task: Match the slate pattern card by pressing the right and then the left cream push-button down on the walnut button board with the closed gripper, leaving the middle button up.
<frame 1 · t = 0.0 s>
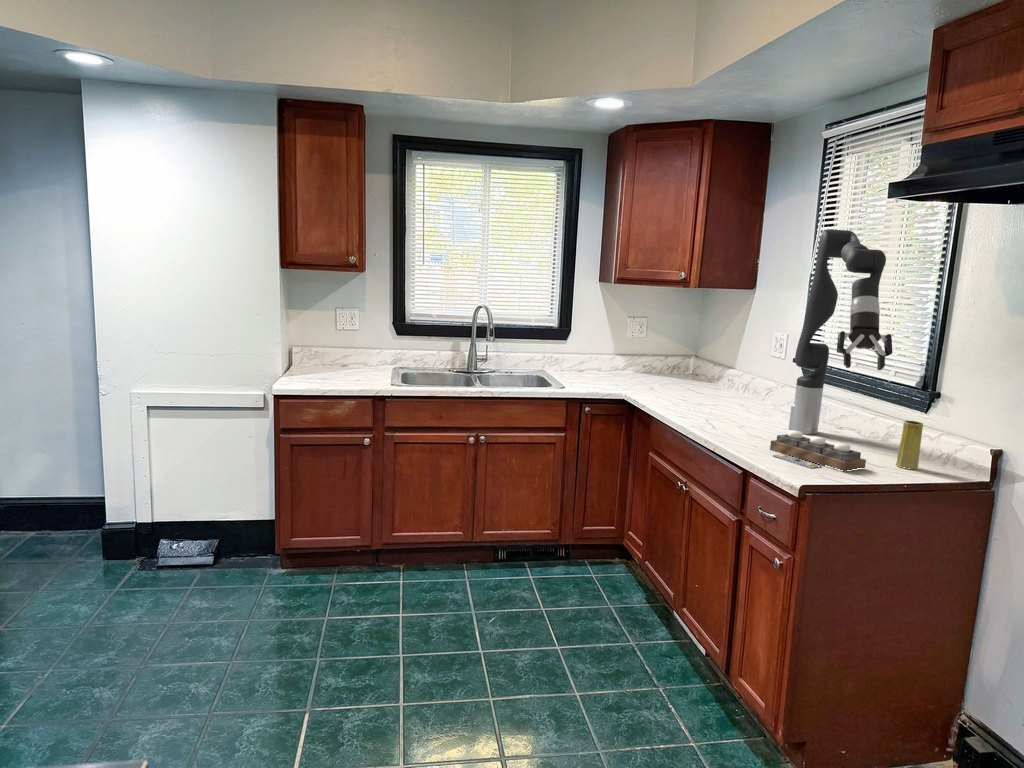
hand: (863, 368, 197), 31 cm above the worktop, tool tilted 20°, fingers open, 8 cm apart
button middle: (817, 441, 217), point 6 cm above the worktop, slide at 0.0 cm
vase: (906, 467, 214), on the worktop
button board: (815, 458, 218), on the worktop
button left: (794, 434, 225), point 6 cm above the worktop, slide at 0.0 cm
button right: (842, 447, 210), point 6 cm above the worktop, slide at 0.0 cm
pattern card: (796, 461, 214), on the worktop
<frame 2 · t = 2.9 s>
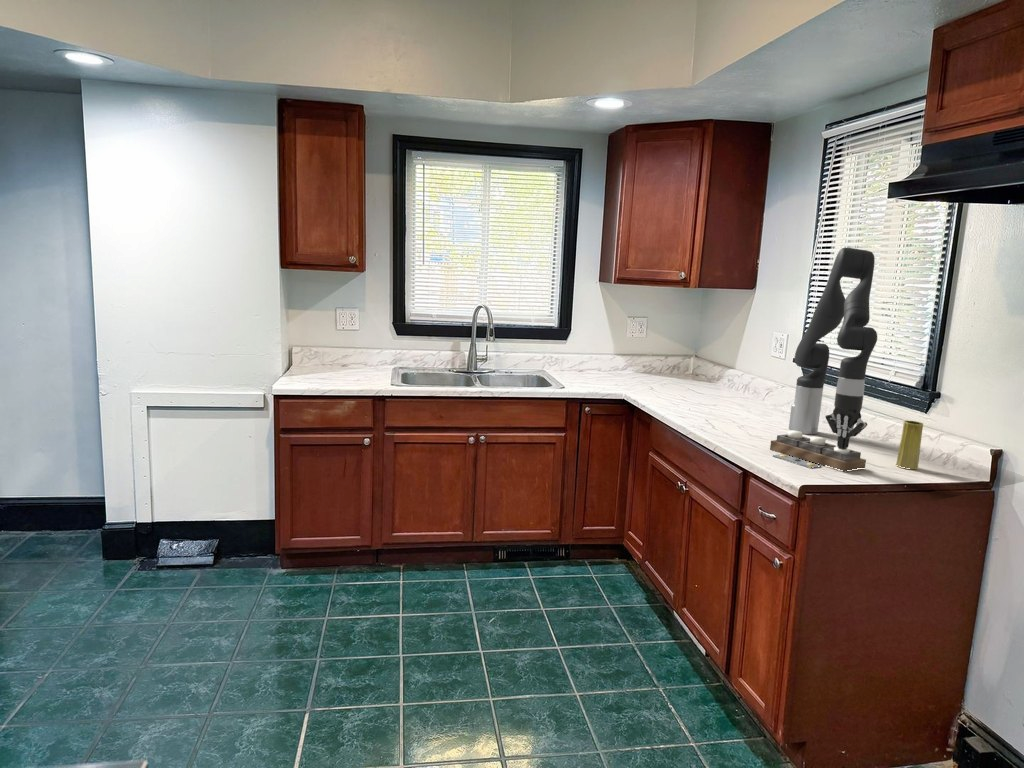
hand: (842, 448, 210), 6 cm above the worktop, tool pointing down, fingers closed
button right: (841, 451, 210), point 5 cm above the worktop, slide at 1.3 cm, touching gripper
everything else where it was.
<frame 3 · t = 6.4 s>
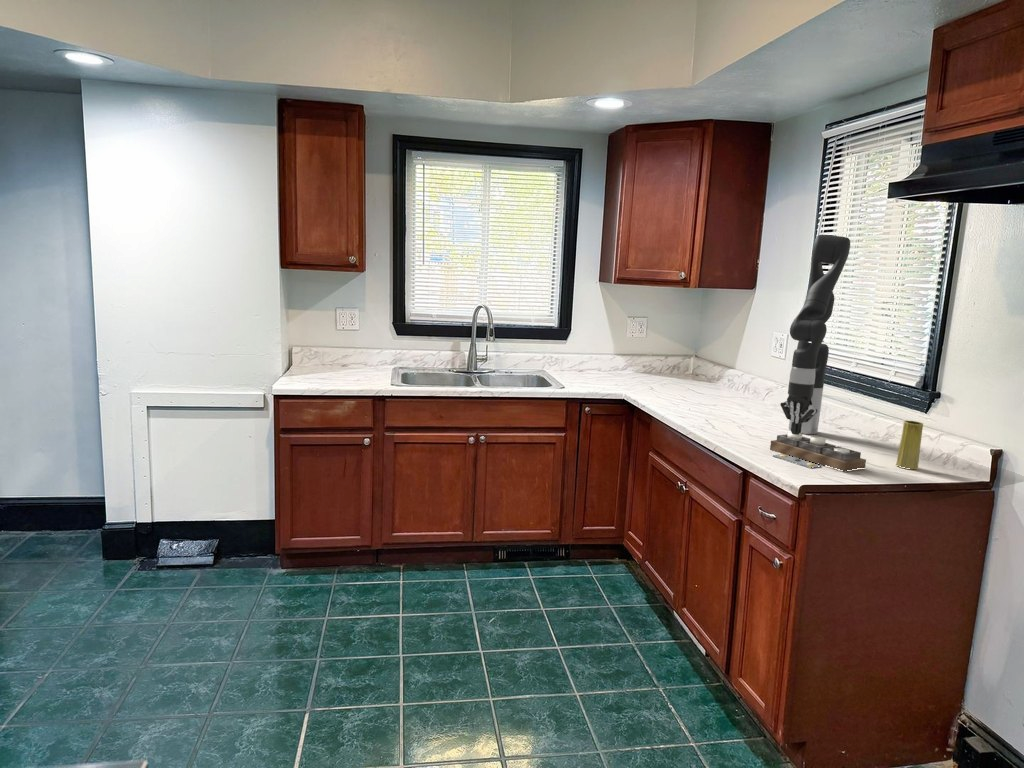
hand: (795, 433, 225), 6 cm above the worktop, tool pointing down, fingers closed
button left: (794, 436, 225), point 5 cm above the worktop, slide at 0.7 cm, touching gripper
button right: (841, 452, 210), point 4 cm above the worktop, slide at 1.6 cm
everything else where it was.
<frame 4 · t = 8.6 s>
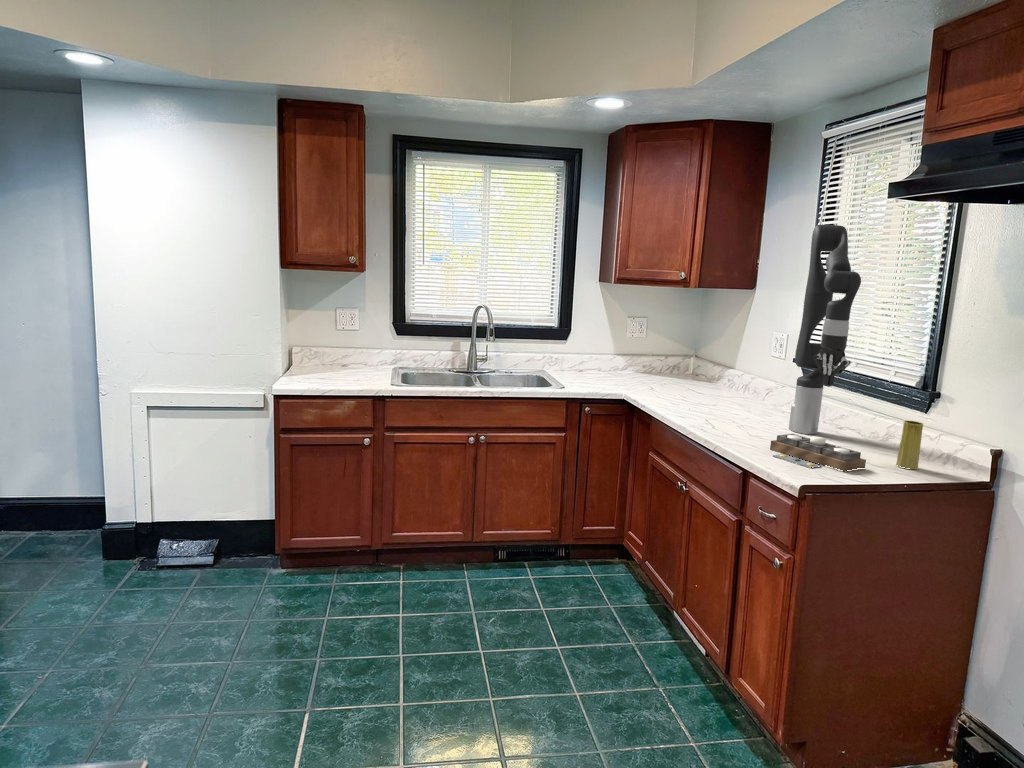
hand: (827, 386, 226), 22 cm above the worktop, tool pointing down, fingers closed
button left: (794, 439, 225), point 4 cm above the worktop, slide at 1.6 cm
everything else where it was.
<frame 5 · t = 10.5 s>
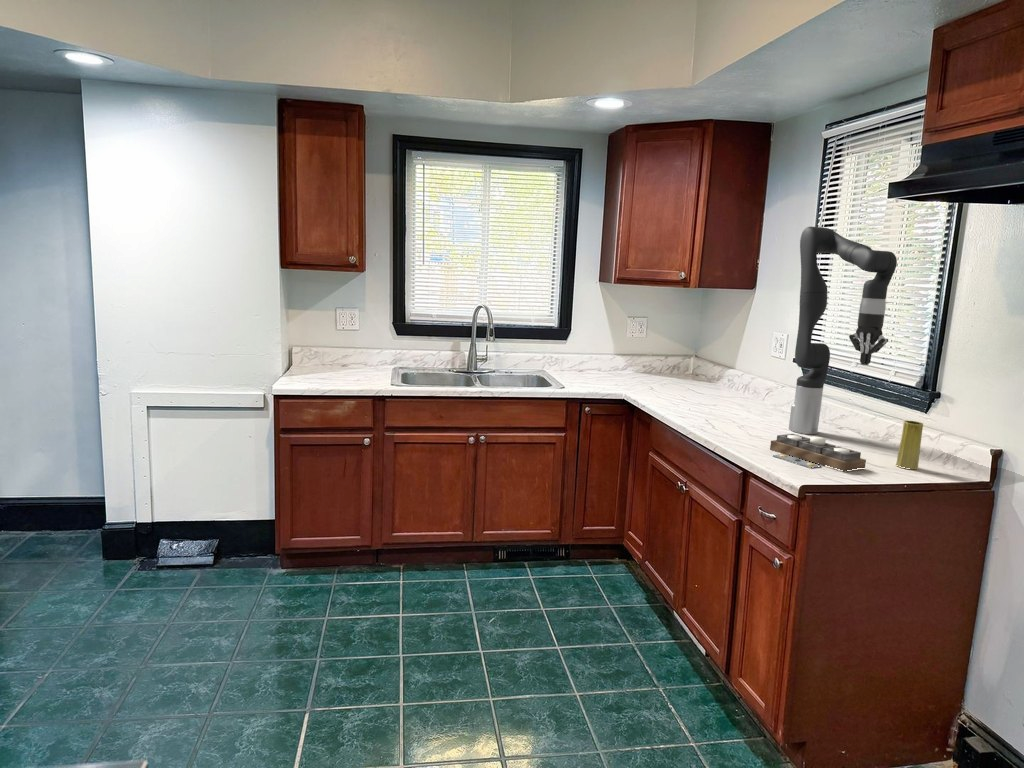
hand: (864, 364, 229), 29 cm above the worktop, tool pointing down, fingers closed
nothing on the worktop moved.
at the end: button right slide at 1.6 cm; button left slide at 1.6 cm; button middle slide at 0.0 cm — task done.
